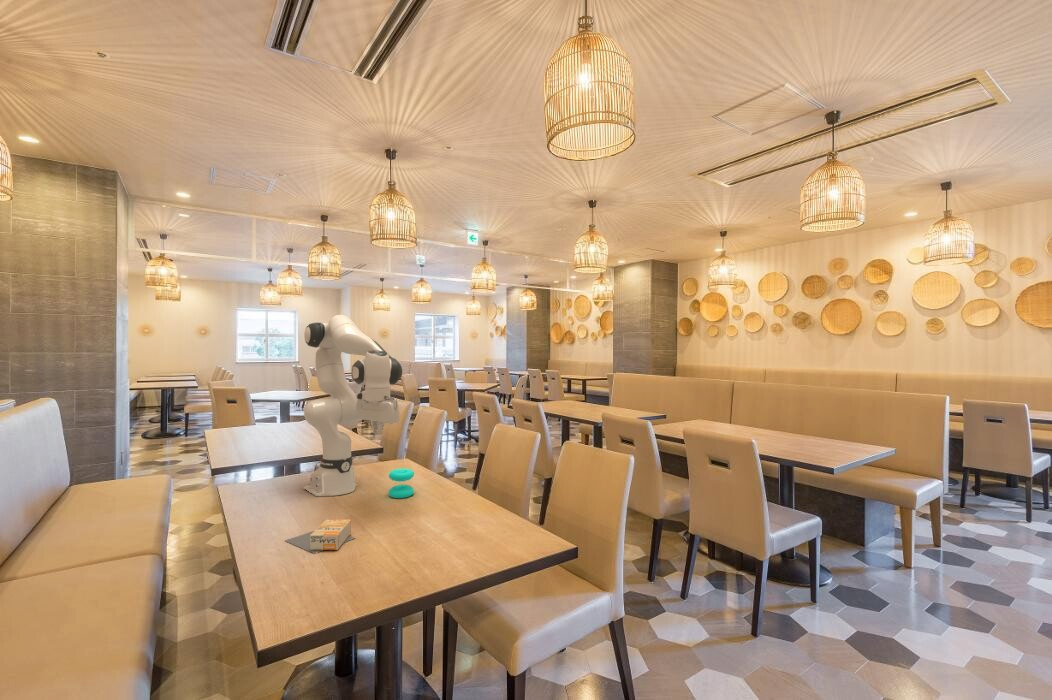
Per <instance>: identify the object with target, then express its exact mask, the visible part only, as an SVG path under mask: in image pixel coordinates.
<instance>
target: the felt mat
mask: <svg viewBox="0 0 1052 700" xmlns="http://www.w3.org/2000/svg"><path fill="white" fill-rule="evenodd" d="M314 531H315V530H312V531H309V532H306V533H303V534H300V535H297V536H294V537H292V538H288V539H286V540H284V542H286V543H289V544H291V545H293V546H295V547H297V548H299V547H300V548H299V549H301V550H304V551H306V550H307V552H308V551H309V553H311V552H312V553H311V554H313V553H316V552H318V553H321V552H324V551H323V550H310V535H311V534H312V533H313V532H314ZM355 539H356V537H354V536H351V535H349V536H348V537H347V539H346V540H345V541H344V542H343V544H345V543H347V541H348V542H350V540H351V541H353V540H355ZM320 551H321V552H320ZM316 554H317V553H316Z"/></svg>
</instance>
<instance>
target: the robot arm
mask: <svg viewBox="0 0 1052 700" xmlns="http://www.w3.org/2000/svg"><path fill="white" fill-rule="evenodd" d="M304 341H305V343H306V344H307V346H309V347H312V348H318V349H317V350H316V352H315V358H314V360H315V372H316V378H317V384H318V388H319V389H320V390H321V391H322V392H323V393H325V394H328V395H329V396H331V397H330V398H327V397H326V398H319V399H315V400H310V401H309V402H307V403H306V405H305V407H304V409H303V416H304V419H305V421H306V422H307V424H309V426H312V427H314V429H316V430H317V432H318V434H319V435H320V437H321V442H322V445H321V446H322V458H319V462H320V464H319V467H318V468H317V469H316V470H315V471H313V472H312V473H311V474H310V477H309V484H307V485H305V486H303V490H305V489H306V490H307V491H306V490H305V491H306V492H308V491H309V492H308V493H309V494H311V493H312V494H311V495H313V496H315V497H327V496H328V497H331V496H332V497H333V496H341V495H346V494H349V493H352V492H354V491H355V490H356V487H357V486H358V484H357V482H356V479H355V478H356V477H355V469H354V467H353V466H352V465H353V456H352V439H351V437H350V435H348V434H347V433H345V432H343V431H340V430H339V429H338V425H341V424H351V423H352V424H353V423H357V422H361V421H370V426H371V428H372V433H373V434H374V435H382V433H383V428H384V426H385V424H390V425H391V424H398V423H399V421H400V418H401V417H400V407H399V404H398V400H397V399H396V398H395V397H394V396H391V385H396V383H398V382H399V381H400V380H401V378H402V376H403V367H402V365H401V363H400V362H399V360H397V359H396V358H395V357H392V356H391V355H390V354H389V353H388V352H387V351H386V350H385V349H384V348H383V347H382V346H381V345H380V344H379V343H378V342H377V341H376V340H375V339H373V338H371V337H369V336H368V335H366V334H365V333H364V332H362V331H361V329H359V327H358V326H357V325H356V323H354V321H353V320H352V319H351V318H349V317H348V316H346V315H345V314H336V315H333V316H332V317H331V318H330V319H329V321H328V322H312V323H309V324H308V325H307V326H306V327H305V329H304ZM342 353H344V354H348V355H356V356H364V357H363V358H361V359H358V360H356V361H355V362H354V363H353V365H352V366H351V379H352V380H353V382H355V383H356V384H357V385H361V386H364V390H363V391H360V392H358V393H355V391H354V390H353V389H352V388H351V387H350V385H349V383H348V381H347V377H346V373H345V370H344V365H343V364H344V363H343V361H342V360H343V359H342Z"/></svg>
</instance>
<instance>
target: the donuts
mask: <svg viewBox="0 0 1052 700" xmlns="http://www.w3.org/2000/svg"><path fill="white" fill-rule="evenodd" d="M414 472H415V471H413V469H410V468H396V469H393V470H391V471H390V472H389V473H388V478H389V479H390V480H391V481H394V482H399V483H400V482H407V481H409V480H411V479H413V478H414V475H415V473H414ZM414 492H415V489H414V487H412V486H411V485H410V484H396V485H394V486H392V487H391V488H390V489H389V490H388V495H389V496H390V497H391V498H393V499H394V498H395V499H405V498H408V497H409V498H410V497H412V496H413V495H414Z"/></svg>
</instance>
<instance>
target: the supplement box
mask: <svg viewBox="0 0 1052 700" xmlns="http://www.w3.org/2000/svg"><path fill="white" fill-rule="evenodd" d="M313 531H314V532H313V533H312V534H311V535H310V550H324V551H338V550H339V549H340V548H341V546H342V545H343V544H344V543H343V542H344V541H345V540H346V539H347V537H348V536H351V534H352V519H349V518H348V519H325V520H324V521H323V522H322V523H321V524H320V525H319V526H318V527H317V528H316V529H315V530H313Z"/></svg>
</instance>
